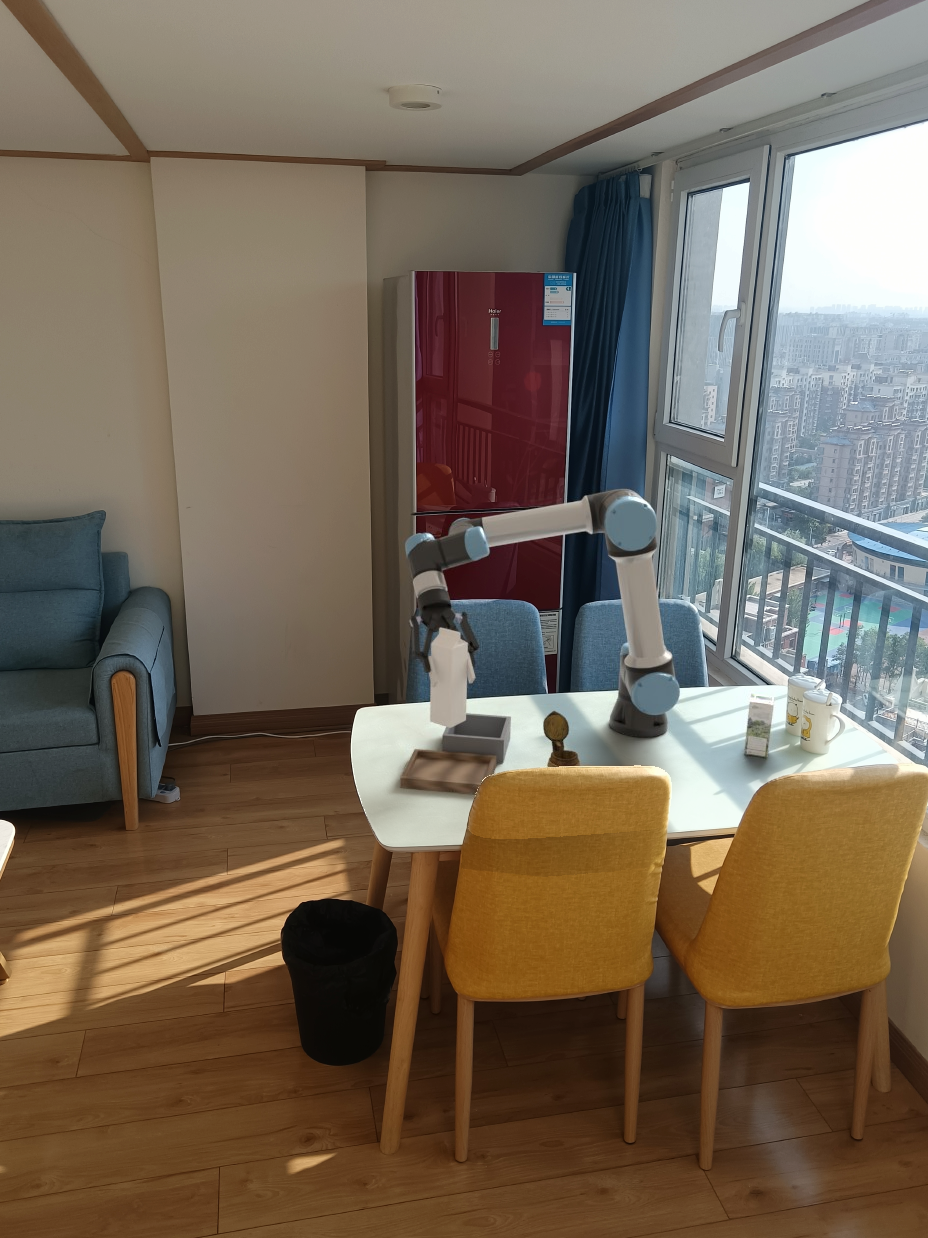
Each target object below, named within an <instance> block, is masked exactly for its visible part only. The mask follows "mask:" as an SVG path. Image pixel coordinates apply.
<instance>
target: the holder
mask: <svg viewBox="0 0 928 1238" xmlns="http://www.w3.org/2000/svg"><path fill="white" fill-rule="evenodd" d="M511 722H512V716H509V715H508V716H507V715H496V714H494V715H493V714H480V713H470V712H469V713H468V712H466V720H465V721H463V722H461V723H459V724H457V725H455V726H453V727H451V728H449V727H446V726H445V729H444V731H443V733H442V738H441V739H442V741H441V744H442V745H441V747H442V750H441V751H446V752H458V753H470V754H483V755H495V756H497V760H496V764H497V763H498V764H503V763H504V762H505V759H506V755H507V750H508V747H509V743H510V740H511V729H512V728H511V725H512V723H511Z"/></svg>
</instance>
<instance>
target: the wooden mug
mask: <svg viewBox="0 0 928 1238" xmlns="http://www.w3.org/2000/svg"><path fill="white" fill-rule="evenodd" d="M542 724H543V725H542V726H543V727H542V728H543V733H544V736H545V737H546V738H547V739H548V740H550V741H551V748H552V752H551V753H550V757H549V758H548V761H547V768H548V767H559V766H580V767H581V763H580V759H579V755H578V753H577V752H576V751H573V750H567V749H565V744H564V740H565V739H566V738H567V737H568V735H569V734H570V726H569V721H568V720H567V718H566V717H565V716H564V715H563V714H561V713H560V712H558V711H555V710H553V711H551V712H550V713H548V715H547V716H546V717H545V718H544V719H543V723H542Z"/></svg>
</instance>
